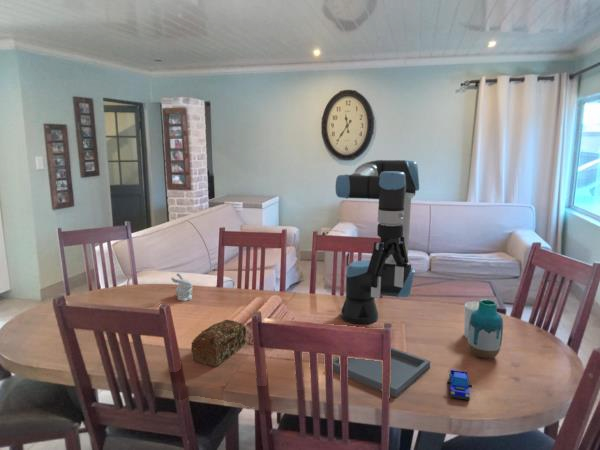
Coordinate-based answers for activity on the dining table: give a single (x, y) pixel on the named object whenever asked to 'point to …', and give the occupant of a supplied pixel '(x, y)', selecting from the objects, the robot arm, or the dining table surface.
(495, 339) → the vase
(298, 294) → the dining table surface
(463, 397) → the toy car
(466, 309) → the candle holder
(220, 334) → the bread
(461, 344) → the dining table surface
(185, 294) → the rabbit
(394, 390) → the tray
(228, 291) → the dining table surface
